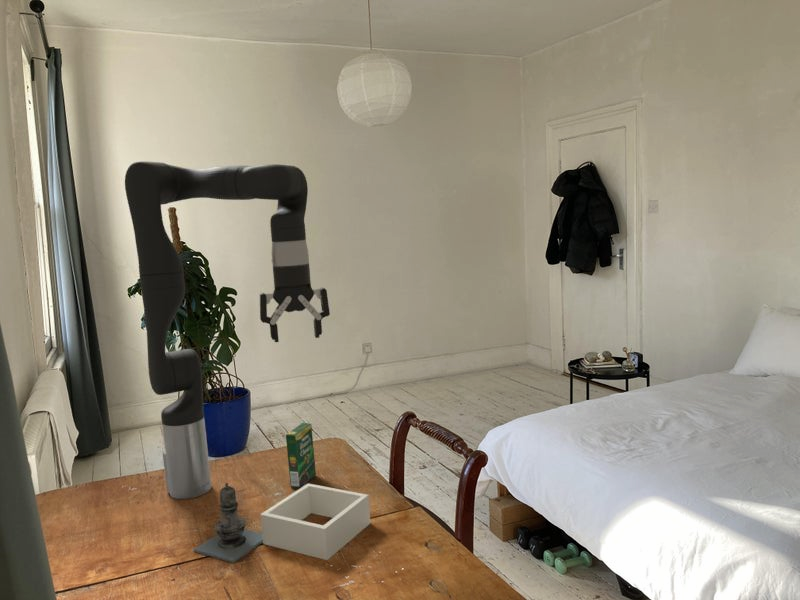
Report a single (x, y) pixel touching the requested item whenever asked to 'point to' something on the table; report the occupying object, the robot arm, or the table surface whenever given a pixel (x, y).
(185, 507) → the table surface
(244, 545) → the mat
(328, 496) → the frame
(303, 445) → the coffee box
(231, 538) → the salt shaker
